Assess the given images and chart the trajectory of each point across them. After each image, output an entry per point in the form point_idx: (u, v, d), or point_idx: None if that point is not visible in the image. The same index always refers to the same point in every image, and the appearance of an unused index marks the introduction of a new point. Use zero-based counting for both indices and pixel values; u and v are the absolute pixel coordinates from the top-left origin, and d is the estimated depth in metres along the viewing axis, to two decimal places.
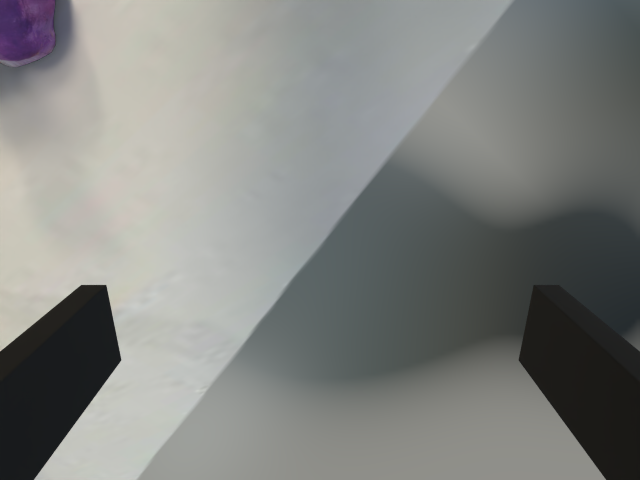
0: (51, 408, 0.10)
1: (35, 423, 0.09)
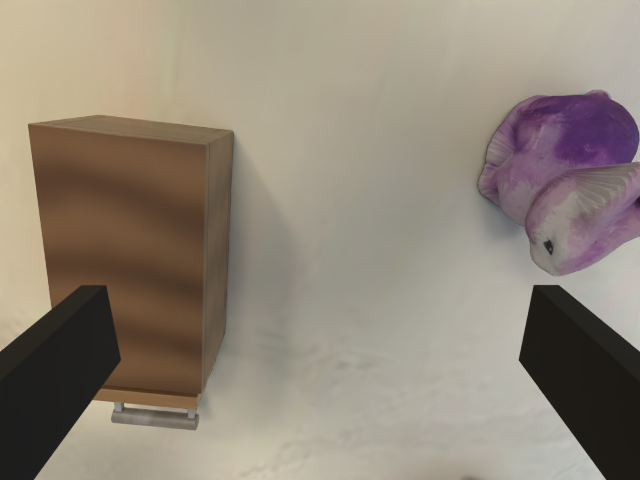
0: (51, 408, 0.10)
1: (35, 423, 0.09)
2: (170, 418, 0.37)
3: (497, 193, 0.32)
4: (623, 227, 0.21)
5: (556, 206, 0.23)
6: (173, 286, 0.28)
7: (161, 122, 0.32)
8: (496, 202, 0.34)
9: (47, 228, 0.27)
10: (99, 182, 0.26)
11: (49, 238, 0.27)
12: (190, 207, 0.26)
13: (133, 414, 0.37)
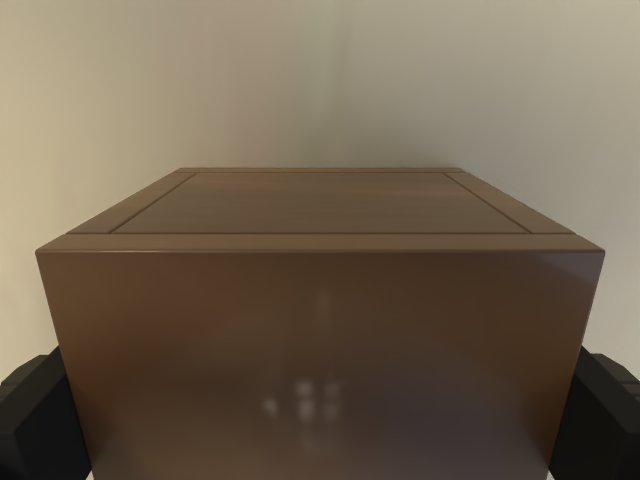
0: None
1: None
2: None
3: None
4: None
5: None
6: None
7: (311, 168, 0.15)
8: None
9: None
10: (258, 387, 0.09)
11: None
12: (522, 422, 0.09)
13: None
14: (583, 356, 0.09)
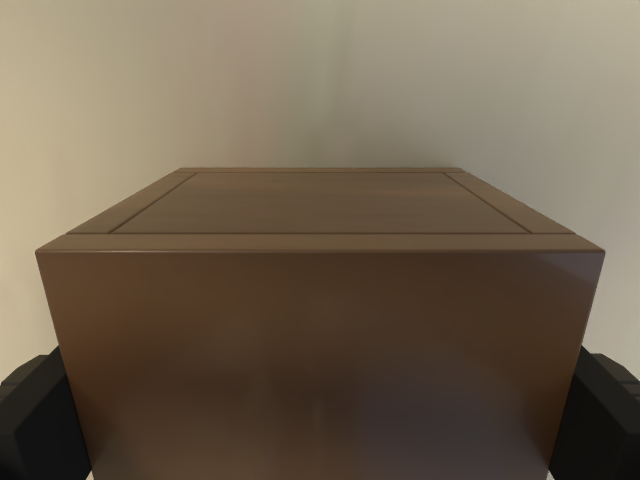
0: None
1: None
2: None
3: None
4: None
5: None
6: None
7: (311, 168, 0.15)
8: None
9: None
10: (259, 387, 0.09)
11: None
12: (522, 422, 0.09)
13: None
14: (583, 356, 0.09)
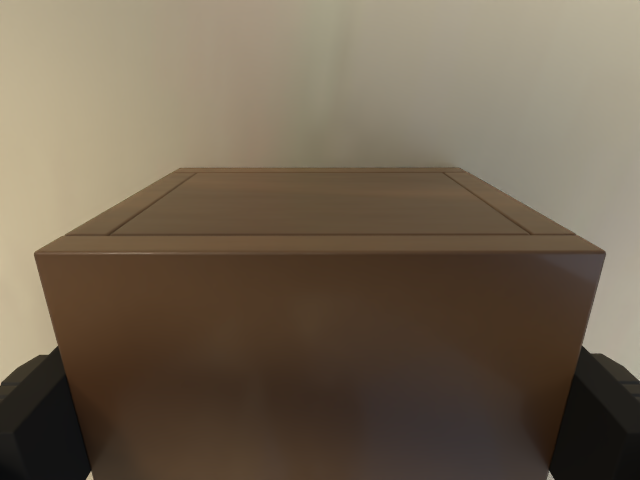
0: None
1: None
2: None
3: None
4: None
5: None
6: None
7: (311, 168, 0.15)
8: None
9: None
10: (258, 388, 0.09)
11: None
12: (522, 422, 0.09)
13: None
14: (583, 356, 0.09)
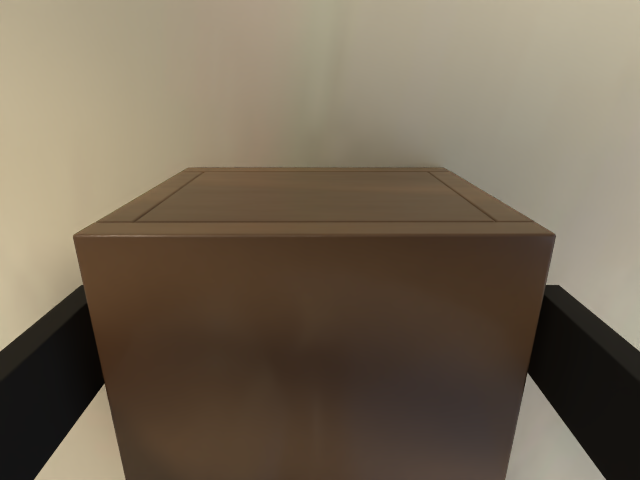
0: (51, 408, 0.10)
1: (35, 423, 0.09)
2: None
3: None
4: None
5: None
6: None
7: (308, 168, 0.17)
8: None
9: (137, 463, 0.11)
10: (262, 354, 0.10)
11: None
12: (490, 386, 0.10)
13: None
14: None
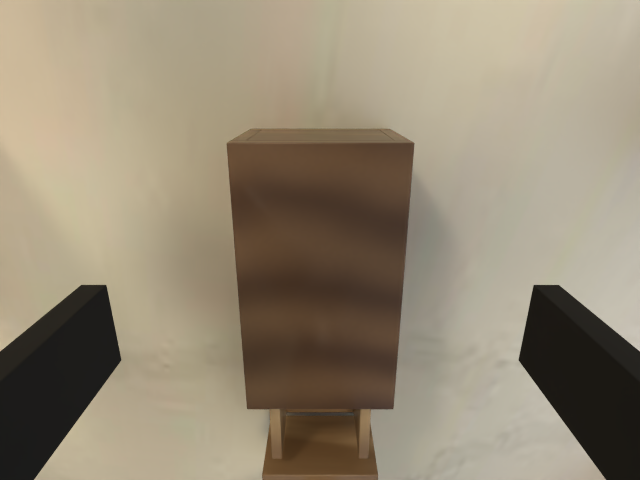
0: (51, 408, 0.10)
1: (34, 423, 0.09)
2: None
3: None
4: None
5: None
6: (370, 298, 0.26)
7: (316, 129, 0.31)
8: None
9: (241, 251, 0.25)
10: (298, 196, 0.24)
11: (243, 261, 0.26)
12: (394, 211, 0.24)
13: None
14: None
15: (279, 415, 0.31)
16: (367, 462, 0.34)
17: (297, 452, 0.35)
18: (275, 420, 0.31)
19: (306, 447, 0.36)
